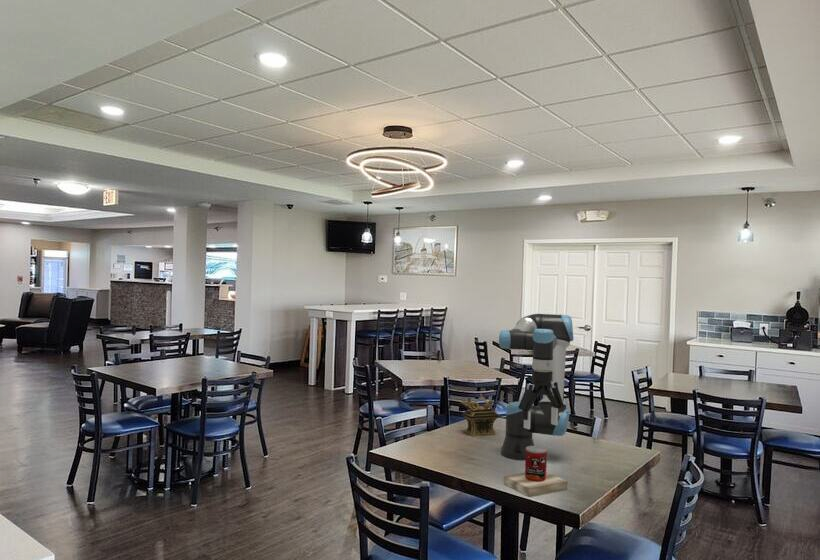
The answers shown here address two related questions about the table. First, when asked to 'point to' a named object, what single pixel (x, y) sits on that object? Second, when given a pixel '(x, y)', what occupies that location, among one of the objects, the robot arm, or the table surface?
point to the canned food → (535, 463)
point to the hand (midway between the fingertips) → (540, 426)
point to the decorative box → (480, 418)
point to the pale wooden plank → (535, 484)
